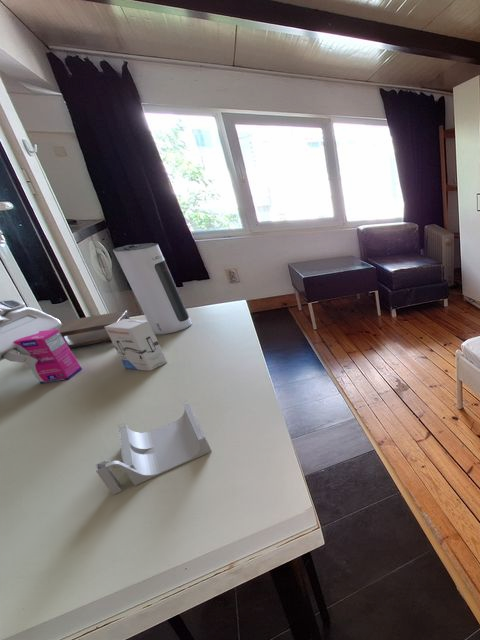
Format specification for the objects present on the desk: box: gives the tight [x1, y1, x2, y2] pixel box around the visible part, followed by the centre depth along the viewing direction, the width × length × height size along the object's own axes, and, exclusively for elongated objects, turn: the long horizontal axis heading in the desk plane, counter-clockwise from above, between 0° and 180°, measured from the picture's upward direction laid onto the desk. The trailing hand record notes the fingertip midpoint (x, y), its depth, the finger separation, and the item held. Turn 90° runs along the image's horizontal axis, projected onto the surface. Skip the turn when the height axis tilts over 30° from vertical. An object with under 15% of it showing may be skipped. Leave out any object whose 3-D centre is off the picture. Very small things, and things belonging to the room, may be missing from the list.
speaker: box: [112, 242, 193, 335], centre depth 110 cm, size 11×10×26 cm
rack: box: [59, 310, 131, 349], centre depth 108 cm, size 18×12×6 cm, turn 119°
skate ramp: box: [95, 401, 212, 496], centre depth 63 cm, size 15×13×5 cm
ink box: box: [105, 318, 168, 372], centre depth 91 cm, size 9×5×12 cm, turn 76°
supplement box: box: [13, 329, 83, 384], centre depth 88 cm, size 6×6×12 cm
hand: (51, 354), depth 88 cm, fingers closed on supplement box, 6 cm apart
